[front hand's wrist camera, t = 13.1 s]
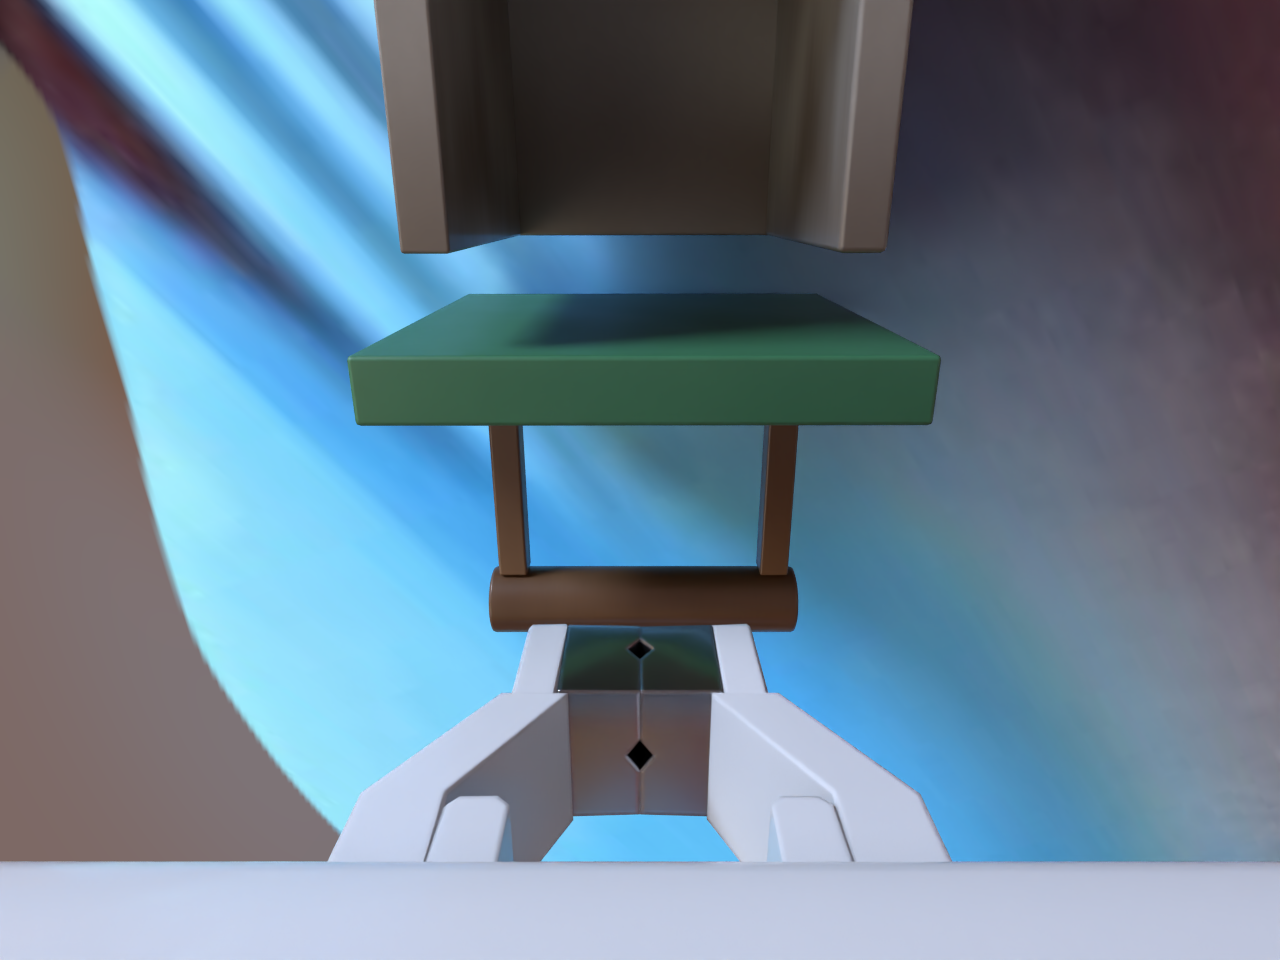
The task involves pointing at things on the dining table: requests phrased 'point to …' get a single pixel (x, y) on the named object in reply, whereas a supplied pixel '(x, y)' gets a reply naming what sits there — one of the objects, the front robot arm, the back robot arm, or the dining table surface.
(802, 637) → the dining table surface
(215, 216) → the dining table surface
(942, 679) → the dining table surface
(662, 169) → the drawer
